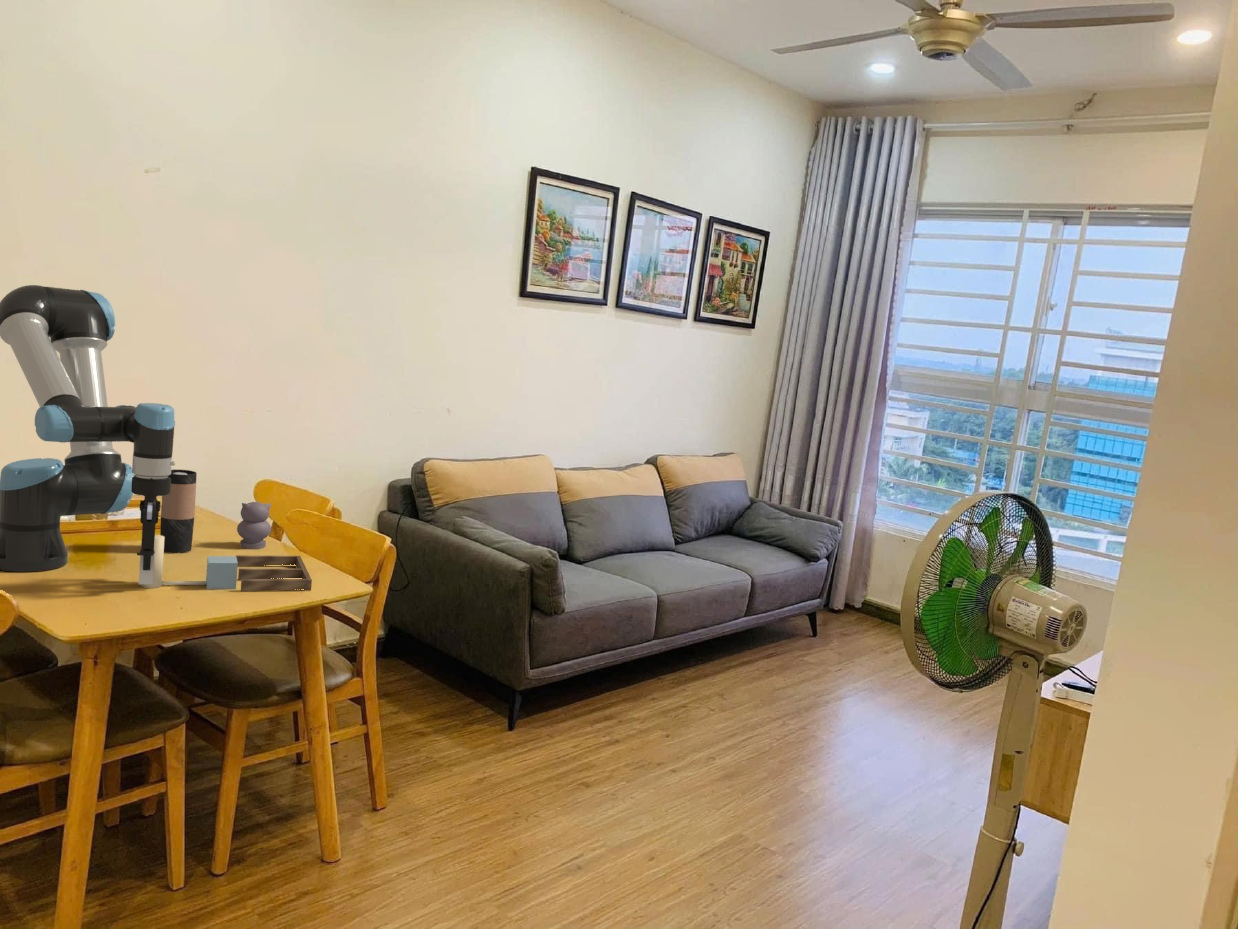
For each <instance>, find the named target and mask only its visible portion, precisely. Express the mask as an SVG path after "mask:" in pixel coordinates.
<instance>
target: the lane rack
mask: <svg viewBox="0 0 1238 929" xmlns="http://www.w3.org/2000/svg"><path fill="white" fill-rule="evenodd" d="M235 556H236V558H237V562H238V567H267V566H266V565H282V564H283V565H290V564H291V565H294V564H295V565H296V566H295V568H238V573H237V580H238V581H240V592H263V591H262V590H295V589H296V590H297V589H298V590H299V589H300V590H301V589H304V590H311V591H312V584H313V582H312V581H313V579H312V578H311V577H312V576H311V575H310V573H309V571H308V569H307V567H306V565H305V563H304V561H303V558H302V557H301V555H243V554H241V555H239V554H238V555H235ZM264 565H265V566H264ZM296 567H297V568H296ZM271 578H272V579H271ZM273 578H274V579H273ZM277 578H278V579H277ZM279 578H280V579H279ZM281 578H282V579H281ZM283 578H302V579H283ZM259 590H260V591H259Z"/></svg>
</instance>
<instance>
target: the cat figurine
mask: <svg viewBox="0 0 1238 929" xmlns="http://www.w3.org/2000/svg"><path fill="white" fill-rule="evenodd" d="M272 505H273V502H272V503H262V502H261V501H251V502H248V503H244V502H241V510H240V516H241V519H242V521H240V522H239V523H238V525H236V526H237V527H236V531H237V534H238V535H239V536H240V537H241V538H242V539H241V540H240V541H239V547H240V548H243V549H247V550H262V549H265V548H266V547H267V545H266V544H267V541H266V540H264V539H266V538H267V537H268V536H269V535H270V534H271V532H272V526H271V524H270V522H269V521H267V520H268V518H269V517H270V509H271V507H272ZM264 547H265V548H264ZM261 548H262V549H261Z"/></svg>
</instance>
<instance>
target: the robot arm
mask: <svg viewBox="0 0 1238 929" xmlns="http://www.w3.org/2000/svg"><path fill="white" fill-rule="evenodd" d="M115 318H116V316H115V313H114V309H113V307H112V304H111V303H110V301H109V300H108V299H107V298H106V297H105V296H104V295H103V294H101V293H98V292H93V291H88V290H85V289H80V290H79V289H69V288H63V287H62V288H61V287H53V286H43V285H39V284H38V285H35V284H31V285H30V284H28V285H23V286H20V287H17V288H15V289H13V290H11V291H10V292H8V293H7V294H6V295H5V296H4V297H2V299H1V300H0V338H1V340H2V341H3V342H4V343H6V344H7V345H9V346H10V349H12V351H13V354H14V356H15V357H16V360H17V363H18V364H19V366H20V368H21V370H22V372H23V374H24V377H25V378H26V379H25V380H26V382H27V384H28V385H29V387H30V389H31V391H32V394H33V395H34V398H35V399H36V402H37V404H38V405H39V407H38V409H37V410H36V412H35V415H34V427H35V432H36V435H37V437H38V438H39V439H40V440H41V441H44V442H52V443H53V442H55V443H63V444H64V443H69V445H70V452H69V453H68V455H66V457H65V458H64V463H63V462H62V460H60V459H58V458H53V457H52V458H50V457H47V458H45V457H44V458H39V457H37V458H28V459H27V458H26V459H21V460H16V461H13V462H10V463H8V464H6V465H4V466H3V467H2V469H1V470H0V571H4V572H5V571H6V572H16V573H17V572H18V573H20V572H23V573H24V572H26V573H27V572H29V573H30V572H41V571H44V572H45V571H50V570H54V569H58V568H61V567H64V566H66V565H67V564H68V559H69V557H68V555H69V554H68V549H67V548H66V547H67V546H66V544H65V541H64V538H63V535H62V533H61V517H63V516H64V517H66V516H67V517H68V516H82V515H94V514H101V515H106V514H109V513H110V514H111V513H117V512H120V511H123V510H125V509H126V508H127V507H128V505H129V504H130V502H131V499H132V497H133V494H134V495H136V496H144V499H143V500H140V502H139V511H140V520H139V521H140V524H142V527H141V528H142V530H141V545H140V546H141V547H140V552H137V553H136V556H139V570H138V571H139V573H138V585H141V584H153V571H154V553H155V551H154V540H155V535H156V525H157V524H158V523H159V512H160V511H161V503H162V500H158V498H157V497H160V496H161V497H162V496H165V495H168V494H169V493H170V489H171V478H170V477H169V475H170V474H171V470H172V466H174V467H175V465H176V461H174V460H172V459H173V453H174V451H173V450H174V449H173V448H174V439H175V437H174V436H175V427H176V426H175V425H176V421H175V409H174V408H173V407H172V406H171V405H170V404H169V405H168V404H162V403H154V402H153V403H152V402H143V403H139V404H137V405H136V406H133V405H125V404H121V405H120V404H119V405H116V406H109V405H108V398H107V390H106V384H105V374H104V365H103V358H102V351H103V350H104V349H106V347H107V346H108V341H110V340H111V339H112V338H114V334H115V330H116V329H115V327H116V319H115ZM58 353H59V355H58ZM113 442H115V443H116V442H118V443H119V442H130V443H133V453H132V462H131V464H132V465H130V464H128V463H126V462H123V461H122V454H121V453H120V452H118V451H117V450H115V449H114V448H113Z"/></svg>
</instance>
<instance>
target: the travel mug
mask: <svg viewBox="0 0 1238 929" xmlns="http://www.w3.org/2000/svg"><path fill="white" fill-rule="evenodd" d="M169 477H170V478H171V489H170V493H169V494H168V495H165V496H161V504H160V511H161V512H160V528H159V529H160V532H159V533H160V534H159V535H161V536H164V537H165V538H164V553H167V554H184V553H189V552H191V551H192V548H193V539H194V538H193V536H194V535H193V534H194V526H195V525H194V524H195V514H196V513H195V512H196V494H197V492H196V491H197V489H196V488H197V472H196V471H193V470H189V469H171V474H170V475H169Z"/></svg>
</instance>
